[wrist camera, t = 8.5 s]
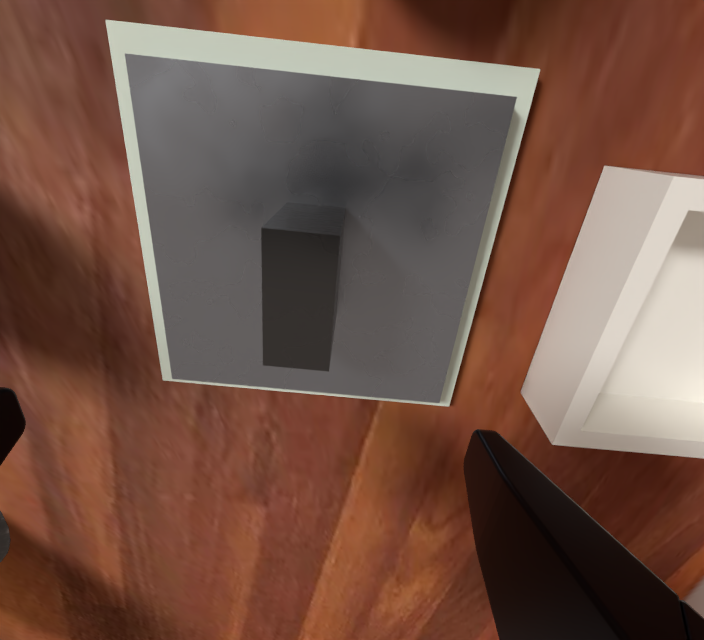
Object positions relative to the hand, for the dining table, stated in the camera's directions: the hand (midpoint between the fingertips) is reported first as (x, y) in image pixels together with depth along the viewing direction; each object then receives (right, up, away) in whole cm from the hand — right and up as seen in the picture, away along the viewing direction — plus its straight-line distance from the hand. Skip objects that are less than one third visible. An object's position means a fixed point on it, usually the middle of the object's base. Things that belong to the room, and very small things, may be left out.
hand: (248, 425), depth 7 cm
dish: (+18, +3, +11) cm, 22 cm away
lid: (0, +5, +10) cm, 11 cm away
